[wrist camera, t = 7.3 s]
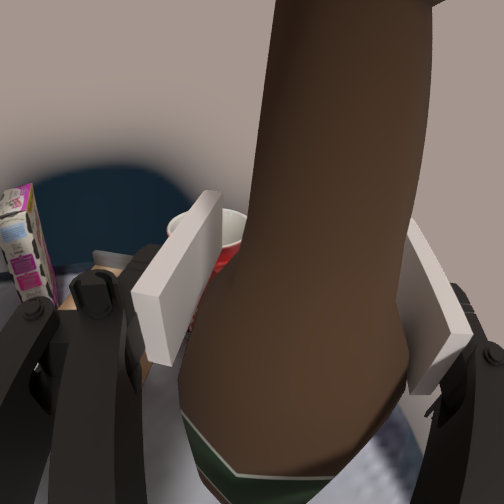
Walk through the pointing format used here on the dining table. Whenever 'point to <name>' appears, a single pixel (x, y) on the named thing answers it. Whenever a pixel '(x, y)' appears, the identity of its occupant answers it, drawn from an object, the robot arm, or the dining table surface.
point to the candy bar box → (26, 245)
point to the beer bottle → (314, 256)
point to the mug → (230, 241)
